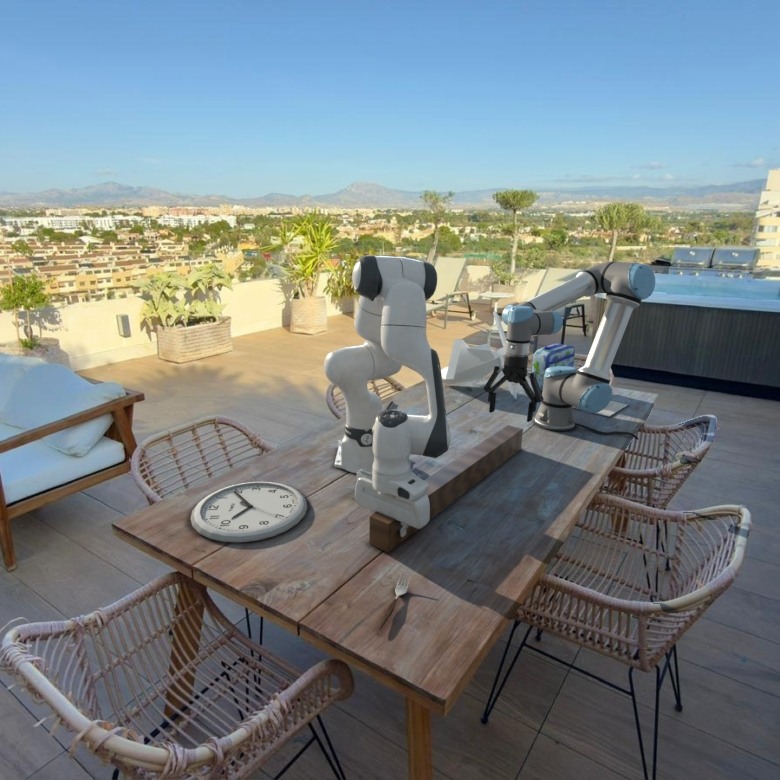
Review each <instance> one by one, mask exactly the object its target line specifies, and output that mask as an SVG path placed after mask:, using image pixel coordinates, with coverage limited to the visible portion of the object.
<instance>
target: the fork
mask: <svg viewBox="0 0 780 780" xmlns="http://www.w3.org/2000/svg"><path fill="white" fill-rule="evenodd" d="M402 574H403V572H402V571H401V573H400V575H399V577H398V581H397V584H396V586H395V588H394V593H395V597H394V599H393V600H392V601H391V602H390V604H389V605H388V607H387V609H386V611H385V614H384V615H383V618H382V620H381V621H382V622H381V624H380V626H379V631H381V629H382V628H383V627H384V625H385V623H386V622H387V621H388V619H389V618H390V617H391V615H392V613H393V611H394V610H395V606H396V603H397V601H398V598H399V597H400V596H403V595H406V594H407V592H408V590H409V586H410V582H411V578H412V575H410V576H409V574H407V575H406V573H404V574H403V577H402ZM405 575H406V578H405ZM408 576H409V579H408ZM401 578H402V579H401Z"/></svg>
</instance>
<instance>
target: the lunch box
mask: <svg viewBox="0 0 780 780" xmlns="http://www.w3.org/2000/svg"><path fill="white" fill-rule="evenodd" d="M575 352H576V351H575V346H573V345H568V344H562V343H553V344H550V345H547V346H546V345H545V346H544V347H541V348H538V349H537V350H536V351H535V352H534V354H533V357H532V362H531V372H534V371H535V372H536V379H537V382H538V384H539V387H540V390H541V391H542V390H543V378H544V375H545V370H546V369H547V368H549V367H555V366H568V367H574V363H575ZM530 387H531V388H532V385H531V384H530Z"/></svg>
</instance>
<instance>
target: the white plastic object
mask: <svg viewBox="0 0 780 780" xmlns="http://www.w3.org/2000/svg"><path fill="white" fill-rule="evenodd" d="M492 315H493V319H494V321H495V324H496V325H495V326H496V328H497V332H498V335H499V338H500V342H501V345H502V347H500V348H498V349H496V350H495V349H493V348H492V347H491V346H490V344H489V343H488V342H487V343H483V344H479V345H473V346H469V345H468V343H466V342H465V340H464V339H463V338H460V339H458V338H454V340H453V344H452V349H451V353H450V357H449V362H448V366H446V367H444V368H441V374H442V382H443V385H445V386H449V385H458V384H467V383H468V384H469V383H473V384H477V383H480V382H482V381H484V378H485V377H486V376H487V375H489V374H490V373H493V372H494V367H495V366H497V365H500V366H501V367H504V358H505V354H507V353H506V352H505V348H506V338H507V336H506V334H505V331H504V328H503V325H502V320H501V318H500V315H499V314H498V312H497V311H496V310H495V311H492ZM506 383H507V386H508V390H509V393H510V394H511V395H512V397H513V398H514V399H515V400H517V392H516V391H517V390H516V388H515V385H514V382H508V380H506ZM521 389H522V391H523V393H524V395H525V396H526V397H528V395H527V394H526V392H525V390H524V389H523V387H522V386H521Z"/></svg>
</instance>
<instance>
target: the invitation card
mask: <svg viewBox="0 0 780 780" xmlns="http://www.w3.org/2000/svg"><path fill="white" fill-rule="evenodd" d="M628 406H629V404H627V403H623V402H618V401H614V400H611V401H610V402H609V404H608V405H607V406H606V407H605V408H604V409H603V410H601V411H600V412H597V413H595V414H596V415H600V416H604V417H608V418H609V417H611V416H613V415H614V414H616V413H617V412H619V411H621V410H623V409H624V408H626V407H628ZM573 409H575V410H579V409H578V408H576V407H573Z"/></svg>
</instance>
